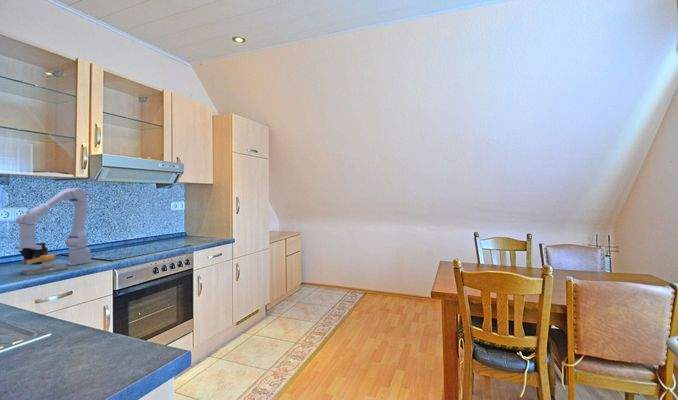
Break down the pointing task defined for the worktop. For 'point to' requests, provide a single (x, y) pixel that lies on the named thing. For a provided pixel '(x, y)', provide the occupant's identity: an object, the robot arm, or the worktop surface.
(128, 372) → the worktop surface
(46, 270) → the plate
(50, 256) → the crank handle
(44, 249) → the supplement bottle
